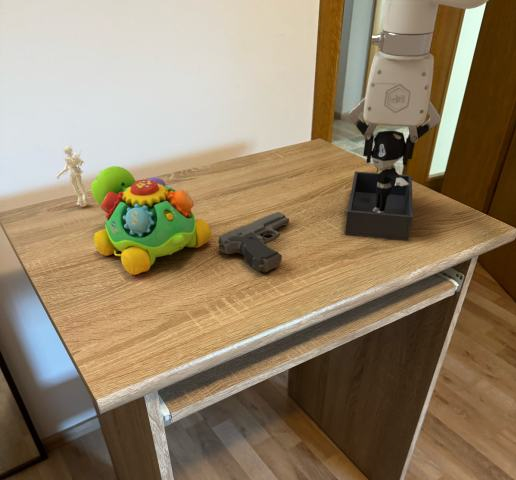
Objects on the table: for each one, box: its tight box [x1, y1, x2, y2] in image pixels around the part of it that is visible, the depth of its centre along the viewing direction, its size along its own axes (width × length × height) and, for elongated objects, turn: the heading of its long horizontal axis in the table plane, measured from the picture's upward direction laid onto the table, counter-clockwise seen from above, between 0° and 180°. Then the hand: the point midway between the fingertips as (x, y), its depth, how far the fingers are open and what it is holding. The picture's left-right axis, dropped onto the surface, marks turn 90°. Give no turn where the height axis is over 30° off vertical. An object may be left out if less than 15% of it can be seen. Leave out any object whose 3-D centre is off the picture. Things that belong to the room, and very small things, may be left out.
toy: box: [364, 130, 409, 213], centre depth 88 cm, size 13×6×15 cm, turn 17°
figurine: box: [55, 145, 89, 208], centre depth 94 cm, size 5×6×12 cm
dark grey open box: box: [344, 170, 414, 241], centre depth 92 cm, size 11×18×4 cm, turn 167°
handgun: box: [218, 211, 290, 273], centre depth 84 cm, size 3×16×12 cm
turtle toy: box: [90, 165, 212, 276], centre depth 83 cm, size 17×23×12 cm
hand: (386, 160), depth 87 cm, fingers closed on toy, 5 cm apart
